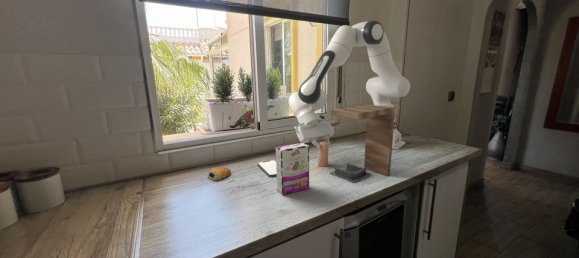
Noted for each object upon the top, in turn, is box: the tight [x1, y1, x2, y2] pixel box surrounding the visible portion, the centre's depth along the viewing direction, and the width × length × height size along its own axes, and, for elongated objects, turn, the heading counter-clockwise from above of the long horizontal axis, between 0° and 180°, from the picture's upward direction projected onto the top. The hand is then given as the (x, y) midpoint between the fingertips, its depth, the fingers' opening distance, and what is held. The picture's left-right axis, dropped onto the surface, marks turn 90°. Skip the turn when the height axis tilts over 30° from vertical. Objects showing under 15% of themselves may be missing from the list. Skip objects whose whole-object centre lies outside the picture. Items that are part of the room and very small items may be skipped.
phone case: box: [257, 160, 277, 178], centre depth 112 cm, size 9×2×16 cm
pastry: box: [207, 167, 232, 181], centre depth 105 cm, size 9×7×4 cm
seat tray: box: [329, 162, 372, 184], centre depth 106 cm, size 12×12×3 cm
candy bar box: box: [275, 142, 310, 196], centre depth 91 cm, size 11×5×16 cm, turn 117°
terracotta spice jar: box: [317, 140, 330, 168], centre depth 116 cm, size 4×4×11 cm
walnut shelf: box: [330, 104, 396, 177], centre depth 100 cm, size 24×12×28 cm, turn 130°
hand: (324, 146), depth 115 cm, fingers closed on terracotta spice jar, 4 cm apart
